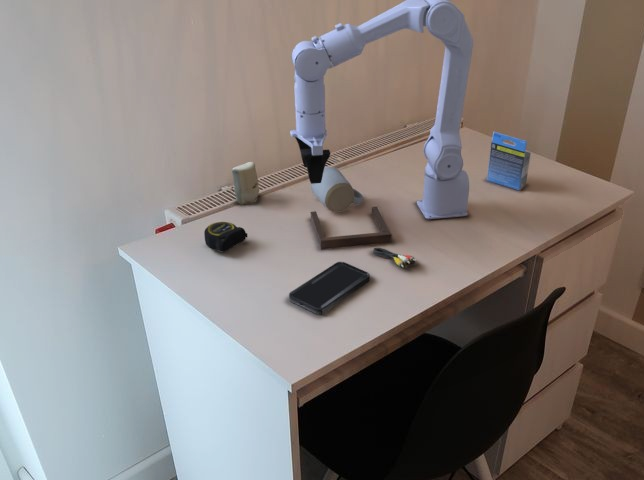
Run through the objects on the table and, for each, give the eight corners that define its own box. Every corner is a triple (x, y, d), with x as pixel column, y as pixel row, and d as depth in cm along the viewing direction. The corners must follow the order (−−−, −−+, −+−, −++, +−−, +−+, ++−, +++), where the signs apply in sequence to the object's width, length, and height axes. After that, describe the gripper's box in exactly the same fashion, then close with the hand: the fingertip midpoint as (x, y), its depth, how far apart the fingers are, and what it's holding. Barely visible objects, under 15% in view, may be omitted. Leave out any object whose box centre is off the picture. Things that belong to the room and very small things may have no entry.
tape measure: (223, 258, 138) (221, 241, 136) (198, 247, 141) (195, 230, 139) (248, 244, 143) (247, 227, 141) (223, 233, 146) (221, 216, 143)
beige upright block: (239, 192, 160) (236, 159, 155) (262, 194, 160) (260, 160, 155) (233, 204, 155) (229, 170, 150) (257, 206, 155) (254, 171, 150)
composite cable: (370, 253, 142) (370, 242, 141) (388, 245, 145) (388, 235, 143) (403, 275, 137) (403, 264, 135) (421, 266, 139) (422, 255, 138)
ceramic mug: (325, 217, 153) (325, 184, 148) (310, 200, 158) (309, 168, 154) (369, 208, 157) (371, 176, 153) (353, 192, 163) (354, 160, 158)
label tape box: (526, 185, 170) (534, 135, 163) (519, 191, 167) (527, 141, 160) (493, 175, 174) (500, 126, 166) (485, 181, 171) (492, 131, 163)
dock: (376, 214, 155) (377, 206, 154) (391, 242, 146) (391, 234, 145) (310, 220, 152) (310, 211, 150) (320, 249, 143) (320, 240, 141)
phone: (372, 274, 134) (319, 310, 124) (372, 279, 135) (320, 316, 125) (339, 260, 137) (285, 294, 127) (339, 265, 138) (286, 299, 128)
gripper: (284, 96, 143) (287, 160, 151) (295, 124, 132) (298, 191, 140) (319, 95, 144) (320, 158, 153) (333, 122, 133) (334, 189, 142)
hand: (312, 174), depth 146 cm, fingers open, 7 cm apart
